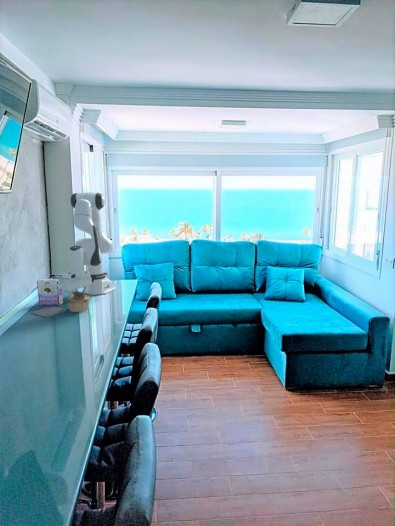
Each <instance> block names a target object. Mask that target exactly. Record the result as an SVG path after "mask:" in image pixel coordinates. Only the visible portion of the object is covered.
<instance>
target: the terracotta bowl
mask: <svg viewBox="0 0 395 526" xmlns="http://www.w3.org/2000/svg"><path fill="white" fill-rule="evenodd" d="M68 305H69V306H68V307H69V308H68V310H69V312H72V313H80V312H79V311H83V312H85V311H84V310H86V311H88V310H89V309H88V308H89V301H87V302H82V303H69V302H68ZM87 309H88V310H87Z"/></svg>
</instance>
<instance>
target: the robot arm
mask: <svg viewBox="0 0 395 526" xmlns="http://www.w3.org/2000/svg"><path fill="white" fill-rule="evenodd" d="M105 204H106V199H105V196H104V194H103V193H101V192H89V191H87V192H75V193H72V195H70V206H71V207H72V208H73V209H74V210H73V225H74V226H75V227H76V229H77V230H79V231H81V232H84V233H87V234H88V235H90V238H89V237H87V238H86V237H83V238H79V239H77V240H76V241H75V245H73V246H70V247H69V249H68V258H67V259H68V265H69V267H68V270H67V271H66V272H65V273H63V274H62V277H61V278H63V279H62V280H61V282H62V291H64V292H67V293H68V294H69V297H74V294H72V292H74V291H76V290H78V289H82V290H81V292H83V293H84V295H91V296H93V295H94V296H95V295H107V294H109V293H111V292H113V291H115V290H117V286H116V287H115V286H114V284H113V281H112V280H110V278H108V277H106V276H108V275H109V273H108V272H106V271H105V272H104V262H103V255H104V254H109V253H111V252H112V250H113V248H114V244H113V241H112V240H111V239H110V238H109V237H107V236H106V234H105V233H104V231H103V227H102V218H101V217H102V216H101V215H102V214H101V209H103V208H104V207H105ZM85 266H86V270H85Z"/></svg>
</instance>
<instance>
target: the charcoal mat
mask: <svg viewBox="0 0 395 526" xmlns="http://www.w3.org/2000/svg"><path fill="white" fill-rule="evenodd" d="M68 311H69V308H68V309H67V308H63V307H58V306H56V305H48V306H46V307H44V308H40V309H37V310H34V311H30V314H31V315H34V316H39V317H43V318H46V319H49V318H52V317H53V316H56V315H60V314H62V313H65V312H68Z"/></svg>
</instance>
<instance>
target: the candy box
mask: <svg viewBox="0 0 395 526" xmlns="http://www.w3.org/2000/svg"><path fill="white" fill-rule="evenodd" d="M36 286H37V296H38V298H37V299H38V305H39V306H56V307H58V306H61V305H62V304H64V300H63V299H64V298H63V288H62V278H45V277H44V278H43V277H42V278H39V279H37V280H36Z"/></svg>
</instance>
